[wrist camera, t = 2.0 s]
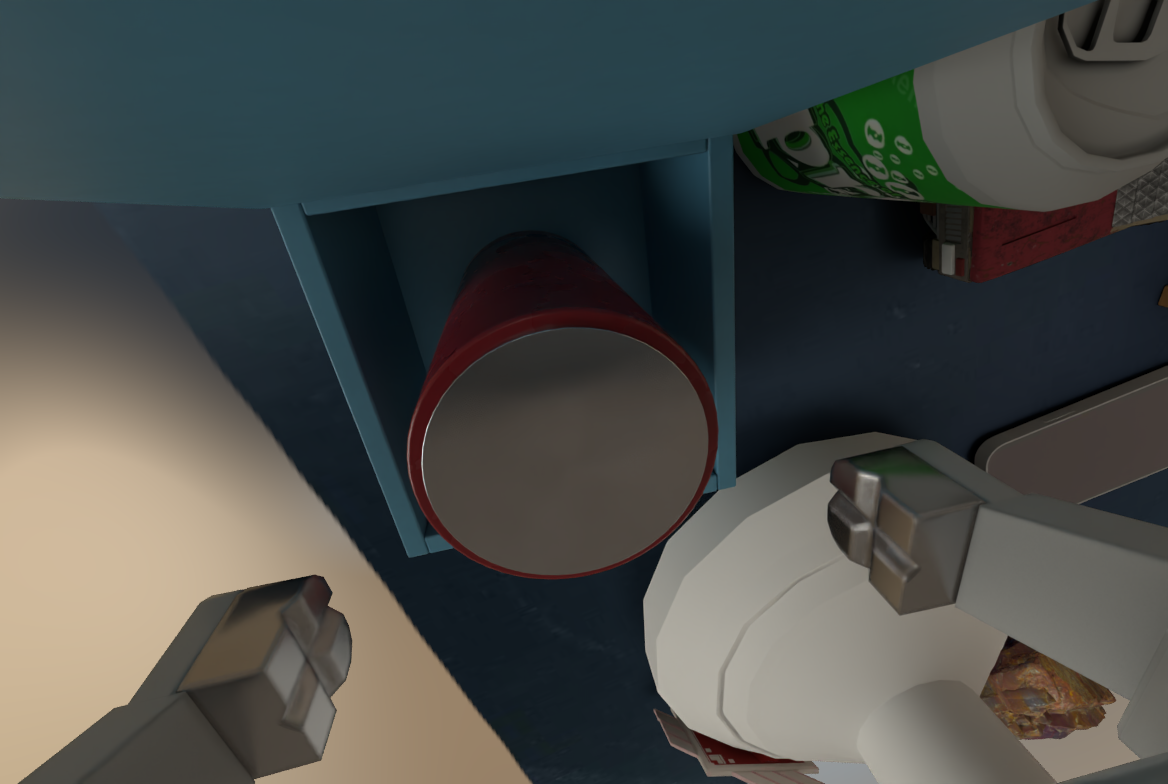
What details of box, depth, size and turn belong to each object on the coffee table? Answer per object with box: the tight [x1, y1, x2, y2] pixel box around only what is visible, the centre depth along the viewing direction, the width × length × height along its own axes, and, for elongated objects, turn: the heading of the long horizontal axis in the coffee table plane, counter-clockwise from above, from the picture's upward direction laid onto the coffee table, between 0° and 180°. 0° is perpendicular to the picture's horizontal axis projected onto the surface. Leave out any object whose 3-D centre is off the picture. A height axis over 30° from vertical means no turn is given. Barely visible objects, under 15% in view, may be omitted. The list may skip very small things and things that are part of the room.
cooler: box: [271, 135, 736, 557], centre depth 18 cm, size 11×11×8 cm
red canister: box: [406, 230, 719, 579], centre depth 15 cm, size 6×6×12 cm
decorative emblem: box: [654, 708, 825, 784], centre depth 30 cm, size 10×1×10 cm
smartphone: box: [975, 366, 1168, 504], centre depth 29 cm, size 7×1×15 cm
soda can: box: [733, 0, 1168, 212], centre depth 14 cm, size 8×8×12 cm
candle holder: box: [643, 432, 1057, 784], centre depth 21 cm, size 20×20×19 cm
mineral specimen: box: [980, 636, 1116, 740], centre depth 29 cm, size 12×8×7 cm, turn 150°
